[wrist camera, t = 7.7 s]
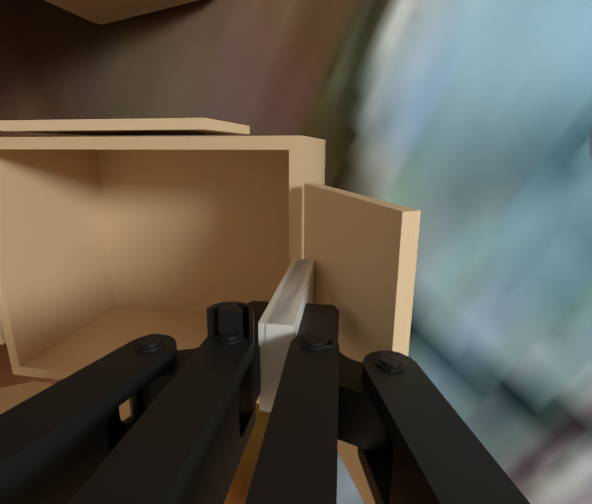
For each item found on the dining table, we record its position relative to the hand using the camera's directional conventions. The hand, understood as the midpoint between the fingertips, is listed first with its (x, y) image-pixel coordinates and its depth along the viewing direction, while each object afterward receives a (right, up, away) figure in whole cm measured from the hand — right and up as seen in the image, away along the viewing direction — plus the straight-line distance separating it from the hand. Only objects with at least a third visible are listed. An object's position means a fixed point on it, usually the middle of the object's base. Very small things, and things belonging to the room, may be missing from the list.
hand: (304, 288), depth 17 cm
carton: (-7, +3, +13) cm, 15 cm away
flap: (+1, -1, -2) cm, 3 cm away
